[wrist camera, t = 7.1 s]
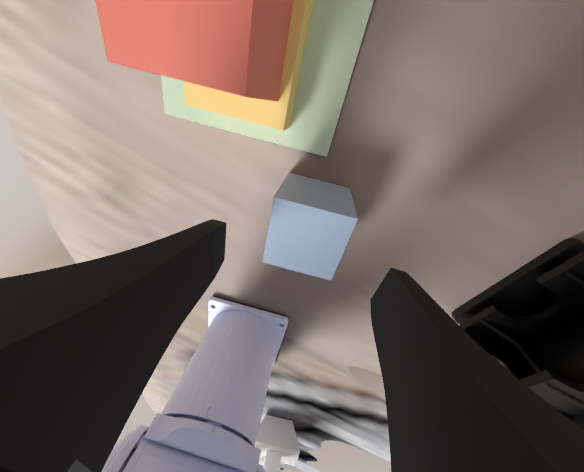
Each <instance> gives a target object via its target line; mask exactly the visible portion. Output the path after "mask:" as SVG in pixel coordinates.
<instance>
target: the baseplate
mask: <svg viewBox="0 0 584 472" xmlns="http://www.w3.org/2000/svg"><path fill="white" fill-rule="evenodd" d="M373 2H374V0H314V4H313V10H312V15H311V20H310V25H309V30H308V35H307V41H306V46H305V51H304V56H303V61H302V66H301V72H300V77H299V82H298V87H297V92H296V97H295V103H294V108H293V113H292V118H291V123H290V128H288V129H286V130H284V131H282V130H278V129H274V128H271V127H267V126H263V125H259V124H256V123H252V122H248V121H244V120H241V119H237V118H233V117H229V116H226V115H222V114H218V113H214V112H211V111H207V110H203V109H200V108H196V107H192V106H188V105H185V103H184V82H183V81H182V80H178V79H174V78H170V77H166V76H162V75H161V79H162V90H163V101H164V112H165V114H168V115H171V116H175V117H179V118H183V119H186V120H190V121H194V122H198V123H201V124H205V125H209V126H213V127H216V128H220V129H224V130H227V131H231V132H235V133H239V134H242V135H246V136H250V137H254V138H257V139H261V140H265V141H269V142H272V143H276V144H280V145H284V146H287V147H291V148H295V149H298V150H302V151H306V152H310V153H313V154H317V155H321V156H325V157H327V155H328V152H329V149H330V145H331V142H332V139H333V135H334V132H335V129H336V125H337V122H338V119H339V115H340V112H341V109H342V105H343V102H344V99H345V95H346V92H347V89H348V85H349V82H350V79H351V75H352V72H353V69H354V65H355V62H356V59H357V55H358V52H359V49H360V45H361V42H362V39H363V35H364V32H365V29H366V25H367V22H368V19H369V15H370V12H371V9H372V5H373Z"/></svg>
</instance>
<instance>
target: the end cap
mask: <svg viewBox="0 0 584 472" xmlns="http://www.w3.org/2000/svg"><path fill="white" fill-rule="evenodd" d="M452 316H453V318H454V320H455V321H456V322H457V323H459V324H460V327H461V328H462V329H463V330H464V331H465V332H466V333H467V334H468V335H469V336H470V337H471V338H472V339H474V340H475V341H476V342H477V343H478V344H479V345H480V346H481V347H482V348H483V349H484V350H485V351H486V352H488V353H489V354H490V355H491V356H492V357H493V358H494V359H496V360H497V361H498V362H499V363H500V364H501V365H503V366H504V367H505V368H506V369H507V370H508V371H510V372H511V373H512V374H513V375H514V376H515V377H516V378H518V379H519V380H520V381H521V382H523V383H524V384H525V385H526V386H527V387H529V388H530V389H531V390H532V391H534V392H535V393H536V394H537V395H539V396H540V397H541V398H543V399H544V400H545V401H546V402H548V403H549V404H550V405H551V406H553V407H554V408H555V409H557V410H558V411H559V412H560V413H562V414H563V415H564V416H566V417H567V418H568V419H569V420H571V421H572V422H573V423H575V424H576V425H577V426H579V427H580V428H581V429H583V430H584V242H582V241H580V240H578V239H574V238H573V239H567V240H564V241H562V242H560V243H559V244H557V245H556V246H554V247H552V248H551V249H549V250H548V251H546V252H545V253H543V254H542V255H540V256H538V257H537V258H535V259H534V260H532V261H531V262H529V263H527V264H526V265H524V266H523V267H521V268H520V269H518V270H516V271H515V272H513V273H512V274H510V275H509V276H507V277H506V278H504V279H502V280H501V281H499V282H498V283H496V284H495V285H493V286H491V287H490V288H488V289H487V290H485V291H484V292H482V293H481V294H479V295H477V296H476V297H474V298H473V299H471V300H470V301H468V302H466V303H465V304H463V305H462V306H460V307H459V308H457V309H455V310H454V311H453V312H452Z"/></svg>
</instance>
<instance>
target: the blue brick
mask: <svg viewBox="0 0 584 472" xmlns="http://www.w3.org/2000/svg"><path fill="white" fill-rule="evenodd" d="M357 220H358V217H357V213H356V209H355V205H354V202H353V198H352V194H351V190H350V188H347V187H344V186H340V185H336V184H332V183H328V182H325V181H321V180H317V179H313V178H309V177H305V176H302V175H298V174H294V173H290V172H289V174H288V175H287V177H286V178H285V180H284V182H283V183H282V185H281V186H280V188H279V190H278V191H277V193H276V194H275V196H274V200H273V205H272V211H271V216H270V222H269V227H268V233H267V238H266V244H265V250H264V255H263V261H262V262H263V263H267V264H271V265H274V266H278V267H282V268H286V269H289V270H293V271H297V272H300V273H304V274H308V275H312V276H315V277H319V278H323V279H326V280H330V281H331V280H332V278H333V275H334V273H335V271H336V268H337V266H338V264H339V262H340V259H341V257H342V255H343V252H344V250H345V248H346V246H347V243H348V241H349V239H350V236H351V234H352V232H353V230H354V227H355V225H356V223H357Z"/></svg>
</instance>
